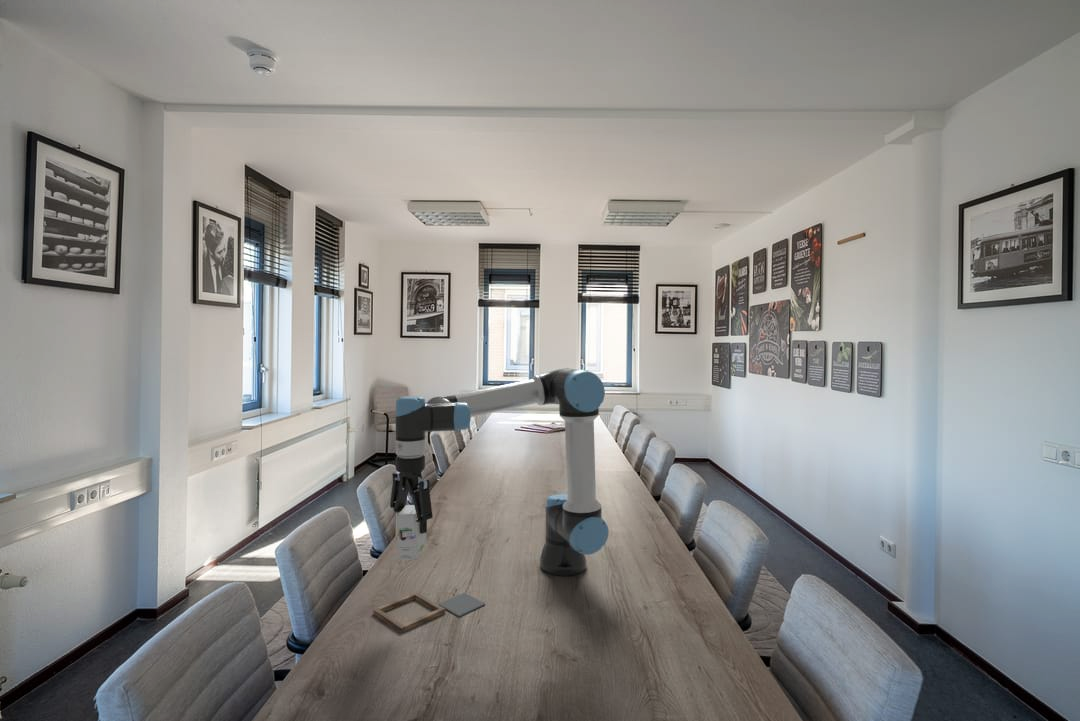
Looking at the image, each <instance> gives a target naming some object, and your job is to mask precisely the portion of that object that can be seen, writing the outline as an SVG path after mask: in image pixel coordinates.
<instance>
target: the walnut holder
mask: <svg viewBox="0 0 1080 721" xmlns="http://www.w3.org/2000/svg"><path fill="white" fill-rule="evenodd" d="M414 600H416V602H417V601H418V602H419V603H421V604H422V605H424V606H426V607H427V608H430V609H431V610H433V611H430V612H429V613H426V614H423V615H421V616H420V617H419V616H418V617H417V618H414V619H413V620H411V621H407V622H406V623H401V622H399V621H398V620H397V619H395V618H394V617H392V616H391V615H389V614H388V613H386V612H387V611H390V610H393V609H394V608H397V607H399V606H402V605H404V604H407V603H409V602H411V601H414ZM372 613H373V615H375V616H376V617H377V618H378V619H380V620H381V621H383V622H384V623H386V624H388V625H389V626H390V627H392V628H394V629H395V630H397V632H399V633H401V634H403V633H405V632H408V631H409V630H412V629H414V628H416V627H418V626H420V625H423V624H424V623H427V622H429V621H432V620H434V619H435V618H437V617H440V616H442V615H444V614H446V609H445V608H443V607H441V606H440V605H439V603H436V602H434V601H433V600H431V599H430V598H427V597H426V596H424V595H422V594H421V593H419V592H417V591H416V592H412V593H410V594H407V595H405V596H402V597H401V598H398V599H396V600H393V601H391V602H388V603H385V604H383V605H380V606H378V607H375V608H373V609H372Z"/></svg>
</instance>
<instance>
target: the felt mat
mask: <svg viewBox="0 0 1080 721" xmlns="http://www.w3.org/2000/svg"><path fill="white" fill-rule="evenodd" d="M438 605H440V606H441V607H443V608H445V611H448V612H450V613H451V614H453V615H455V616H456V617H458V618H460V617H463V616H465V615H467V614H469V613H471V612H473V611H475V610H478V609H479V608H482V607H483V606H486V603H485V602H483V601H481V600H480V599H477V598H475V597H473V596H471V595H470V594H467V592H466V593H465V592H463V593H460V594H459V595H456V596H453V597H451V598H449V599H446V600H445V601H441V602H440V603H438Z"/></svg>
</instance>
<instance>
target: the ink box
mask: <svg viewBox="0 0 1080 721" xmlns="http://www.w3.org/2000/svg"><path fill="white" fill-rule="evenodd" d="M421 516H422V515H421ZM416 520H418V518H417V514H416V510H415V506H414V504H405V507H404V508H403V509H402V510H401V511H400V512H399V514H398V515H397V529H398V537H397V559H398V560H415V559H416V558H418V556H419V554H420V553H421V552H422V549H423V548H424V545H421V546H418V547H417V546H416Z"/></svg>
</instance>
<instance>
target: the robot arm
mask: <svg viewBox="0 0 1080 721" xmlns="http://www.w3.org/2000/svg"><path fill="white" fill-rule="evenodd" d="M605 391H606V390H605V386H604V383H603V382H602V380H601V378H600V377H599V376H598V375H597V374H595V373H594V372H592V371H589V370H586V369H579V368H578V369H577V368H569V367H566V368H565V367H564V368H559V369H555V370H551V371H547V372H545V373H541V374H536V375H533V376H532V377H531V379H527V380H521V381H517V382H512V383H506V384H502V385H497V386H492V387H487V388H482V389H481V388H480V389H477V390H472V391H467V392H461V393H458V394H457V393H456V394H452V395H447V396H434V397H431V398H430V399H428V400H426V399H425V397H424V396H421V395H419V396H418V395H415V396H414V395H406V396H401V397H398V398H397V399H396V401H395V414H394V416H395V417H394V418H395V419H394V420H395V446H394V447H395V455H396V457H395V471H397V472H392V484H391V485H392V486H391V493H390V494H391V495H390V503H389V507H390V508H391V509H393V511H394V512H395V513H394V514H395V515H394V518H395V520H394V521H395V537H396V538H398V529H397V515H398V514H399V512H400V511H401V510H402V509H403V508H404V507H405V506H406V502H407V500H408V497H409V496H410V497H412V502H413V505H414V506H415V510H416V514H417V518H418V520H416V546H417V547H418V546H421V545H423V546H424V545H426V544H427V532H428V520H431V519H433V508H432V500H431V494H430V492H431V490H430V483H431V482H430V481H431V480H429V479H426V480H425V479H423V476H422V472H423V471H424V470H425V469H426V456H425V455H424V454H425V453H426V433H427V432H428V433H433V432H447V431H449V432H451V431H452V432H453V431H456V432H458V431H463V430H468V429H469V427H470V425H471V418H473V417H478V416H483V415H487V414H493V413H497V412H501V411H505V410H509V409H515V408H519V407H525V406H528V405H529V406H530V405H533V404H537V405H538V406H544V405H558V406H559V408H558V410H559V417H560V418H561V419H562V420H564V431H565V432H564V433H565V434H564V435H565V461H566V462H565V466H566V469H565V470H566V493H562V494H561V493H560V494H553V495H550V496H548V497H547V498H546V501H545V506H544V507H545V542H544V544H543V547H542V548H543V549H542V552H541V555H540V556H539V568H540V569H541V570H542V571H543V572H546V573H547V574H551V575H553V576H554V575H555V576H565V577H566V576H567V577H569V576H575V575H578V574H581V573H583V572H584V571H585V570H586V568H587V558H586V556H589V555H594V554H595V553H597V552H599V551H601V549H602V548H603V546H605V545H606V543H607V541H608V538H609V533H610V530H609V527H608V526H609V525H608V524H607V522H606V521H605V520H604V519H603V517H602V516H603V515H602V513H603V512H602V504H601V502H599V501H598V500H597V488H596V487H597V485H596V457H595V456H596V455H595V453H596V452H595V451H596V450H595V449H596V448H595V420H596V418H597V417H598V416H599V414H600V413H599V412H600V411H599V407H601V405H602V403H603V402H604V400H605ZM408 495H409V496H408ZM421 515H422V516H421Z"/></svg>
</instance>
